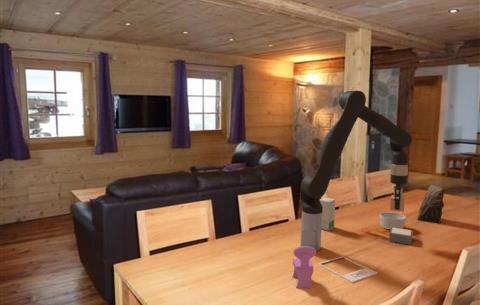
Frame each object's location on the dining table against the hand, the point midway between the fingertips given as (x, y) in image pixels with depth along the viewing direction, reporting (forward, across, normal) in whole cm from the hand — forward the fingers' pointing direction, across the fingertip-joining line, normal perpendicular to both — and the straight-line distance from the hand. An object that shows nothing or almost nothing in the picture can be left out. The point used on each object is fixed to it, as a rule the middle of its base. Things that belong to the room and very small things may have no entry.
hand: (397, 207), depth 177 cm
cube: (+1, 0, 0) cm, 1 cm away
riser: (+17, +3, -2) cm, 17 cm away
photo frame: (+16, -43, +16) cm, 49 cm away
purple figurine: (+15, -62, +29) cm, 70 cm away
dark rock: (+18, +46, -15) cm, 52 cm away
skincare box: (+16, +3, +35) cm, 39 cm away
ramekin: (+17, +20, +3) cm, 27 cm away
